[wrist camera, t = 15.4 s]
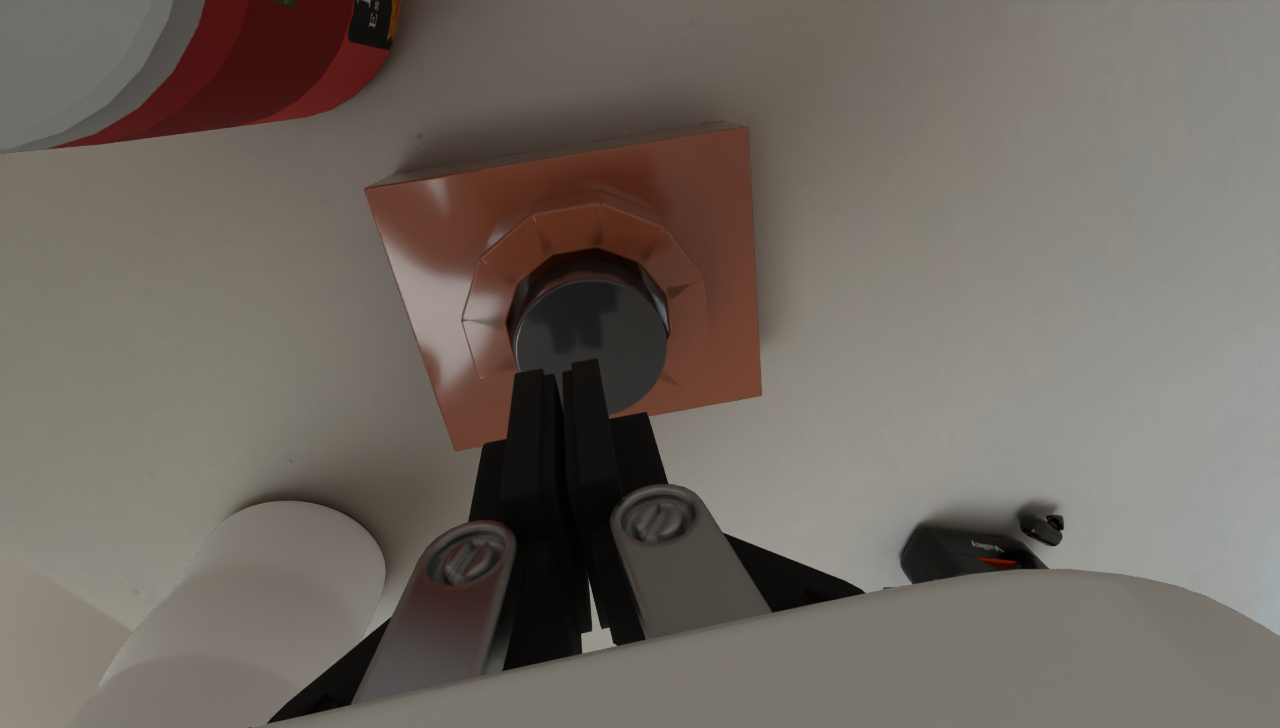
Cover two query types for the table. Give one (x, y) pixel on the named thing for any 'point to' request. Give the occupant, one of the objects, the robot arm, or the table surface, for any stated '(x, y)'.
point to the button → (593, 328)
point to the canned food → (179, 65)
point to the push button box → (577, 228)
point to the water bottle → (245, 623)
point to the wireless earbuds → (976, 551)
